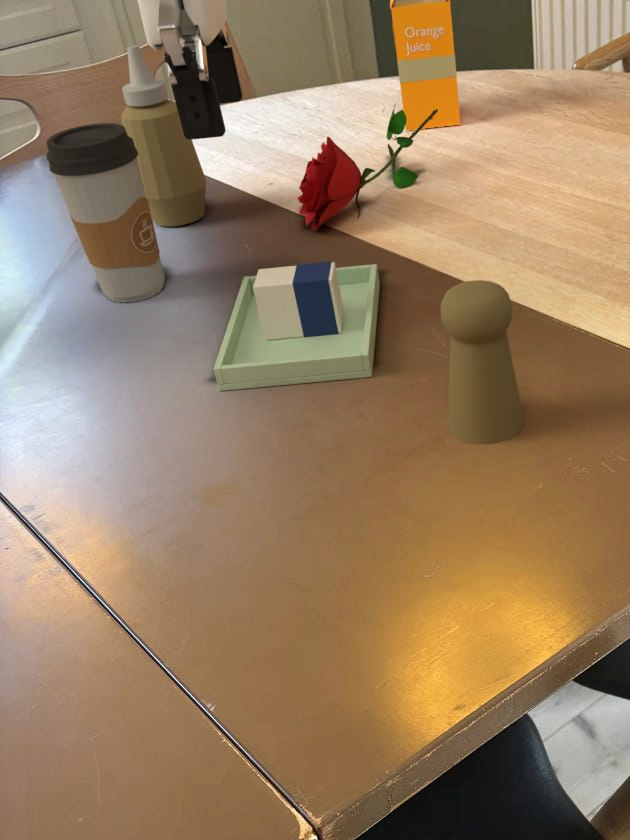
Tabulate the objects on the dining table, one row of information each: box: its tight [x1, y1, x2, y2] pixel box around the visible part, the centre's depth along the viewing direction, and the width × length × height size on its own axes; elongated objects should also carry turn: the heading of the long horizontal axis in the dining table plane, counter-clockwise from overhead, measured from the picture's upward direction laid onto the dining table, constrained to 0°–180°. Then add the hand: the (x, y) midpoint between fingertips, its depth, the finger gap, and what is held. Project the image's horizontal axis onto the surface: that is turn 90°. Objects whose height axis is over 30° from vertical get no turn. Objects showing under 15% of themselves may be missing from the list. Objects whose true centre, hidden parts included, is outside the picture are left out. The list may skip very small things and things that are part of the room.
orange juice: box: [389, 0, 461, 131], centre depth 134 cm, size 8×9×20 cm
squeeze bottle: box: [120, 44, 207, 227], centre depth 114 cm, size 8×8×18 cm
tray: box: [213, 263, 381, 392], centre depth 93 cm, size 13×19×2 cm
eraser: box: [253, 261, 344, 340], centre depth 92 cm, size 7×4×5 cm, turn 92°
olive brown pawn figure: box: [439, 279, 525, 445], centre depth 76 cm, size 6×6×11 cm
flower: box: [297, 102, 438, 231], centre depth 118 cm, size 9×9×30 cm
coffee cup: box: [46, 122, 166, 304], centre depth 100 cm, size 8×8×15 cm
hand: (215, 118), depth 83 cm, fingers open, 9 cm apart
